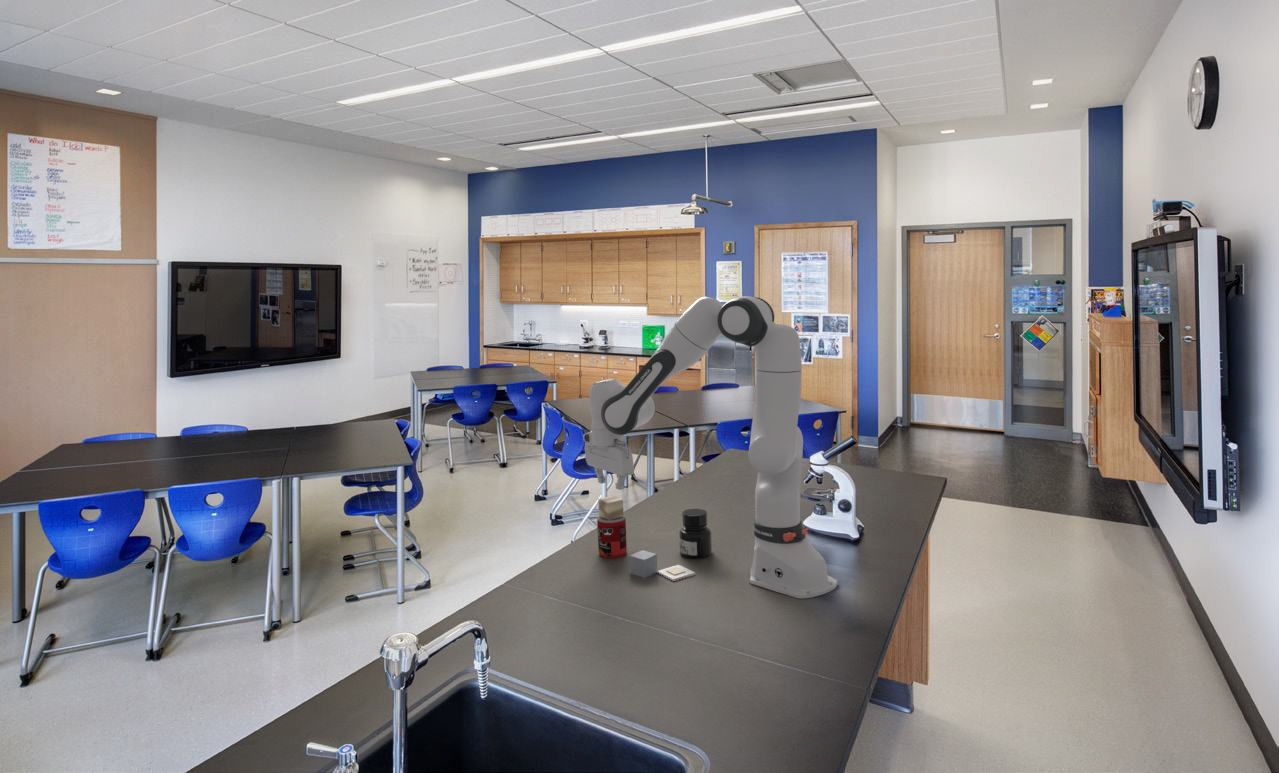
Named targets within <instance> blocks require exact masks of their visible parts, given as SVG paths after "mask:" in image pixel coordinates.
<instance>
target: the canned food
mask: <svg viewBox="0 0 1279 773" xmlns="http://www.w3.org/2000/svg"><path fill="white" fill-rule="evenodd" d="M596 522H597V523H596V524H597V525H596V526H597V540H598V541H597V542H598V543H597V546H598V547H597V548H598V554H599V556H600V557H601V556H602V557H601V558H604V557H605V559H617V558H618V557H619V558H621V557H624V556H625V555H626V554H627V550H628V548H627V547H628V546H627V545H628V544H627V523H626V522H627V521H626V514H624V517H620V518H616V519H612V520H606V519H604V518H602V517H600V516H599V515H597V518H596Z"/></svg>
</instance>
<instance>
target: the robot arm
mask: <svg viewBox="0 0 1279 773" xmlns="http://www.w3.org/2000/svg"><path fill="white" fill-rule="evenodd" d="M721 336H724V337H726V339H728V340H729V341H732V342H734V343H738V344H740V345H744V346H746V347H750V348H752V347H753V348H754V350H755V359H756V360H755V361H756V362H755V395H754V396H755V400H754V408H753V413H752V414H753V415H752V421H751V430H750V439H749V446H748V454H747V455H748V460H749V462H750V465H751V467H753V469H754V470H755V471H756V472H757V479H756V486H755V489H754V490H755V491H754V493H755V498H754V499H755V501H754V502H755V506H754V507H755V519H753V520H754V521H753V535H754V536H755V539H754V540H755V541H754V547H753V552H752V553H753V555H752V556H753V557H752V563H751V569H750V570H749V575H750V577H749V583H750V584H751V585H755V586H758V587H762V588H764V589H767V590H771V591H774V592H777V593H781V594H783V595H787V596H789V597H792V598H796V599H809V598H815V597H819V596H822V595H825V594H828V593H830V592H831V591H832V592H833V590H835V589H836V588H837V586H838V580H837V579H836V578H835V577H832V576H830V575H828V568H827V562H826V560H825V558H824V557H823V556H822V555H821V553H820V552H819V551H817V549H815V547H814V546H813V545H812V544H811V542H809V540H808V539H807V538H806V536H807V535H806V534H808V533H809V531H808V530H809V528H807V527H806V528H804V524H803V522H802V520H801V511H800V510H801V506H800V504H801V503H800V502H801V494H800V493H801V481H802V468H803V454H804V453H803V449H804V448H803V447H804V437H803V433H802V430H801V429H800V427H799V426H798V423H799V422H798V420H799V413H800V406H801V401H802V400H801V399H802V395H801V394H802V368H803V367H802V363H803V362H802V349H801V341H800V337H799V333H798V332H797V329H795V328H794V327H792V326H790V325H788V324H779V323H775V313H774V309H773V308H772V306H771V304H770V303H769V302H767V301H766V300H765V299H763V298H761V297H757V296H750V295H749V296H748V295H745V296H740V297H734V298H731V299H729V300H728V301H727V302H725V303H722V302H721V301H719V300H718V299H716V298H714V297H710V296H702V297H700V298H698V299H697V300H696V301H694V302H693V303H692V304H691V305H690V306H689V307H688V308H687V309H686V310H685V311H684V312H683V313H682V314H681V315H680V317H679V318H678V319H677V321H676V322H675V323H674V324H673V325H672V327H671V328H670V330H669V331H668V332H667V334H666V335H665V336H664V338H663V340H662V341H661V343H660V344H659V346H658V347H657V348H656V350H655V351H654V352H653V354H652V355H651V356H650V358H649V359H648V361H647V362H645V364H644V365H643V367H642V368H641V369H640V370H639V371H638V373H636V375H635V376H634V377H633V378H632V379H631V380H630V382H629V383H628V384H627V385H625V384H623V383H622V382H621V381H619V379H617V378H615V377H614V378H607V379H603V380H599V381H596V382H594V383H593V384H592V385H591V387H590V390H589V413H590V417H591V425H590V431H588V432H586V433H584V434H583V435H582V438H583V439H582V440H583V442H584V456H585V457H584V458H585V462H586V464H587V465H588V466H590V467H593V468H594V473H595V474H596V477H597V483H599V484H606V482H607V480H606V479H607V478H606V476H605V474H604V471H606V472H607V473H608V472H609V473H612V474H615V475H616V478H617V480H616V482H615V489H616V490H619V491H622V490H624V488H625V485H624V484H625V480H626V478H627V476H631V475H634V472H635V466H634V464H635V463H634V457H633V453H632V450H631V448H630V446H629V445H628V444H627V441H625V440H624V435H627V434H628V433H630V432H631V431H633V430H635V429H636V428H638V427H641V426H643V425H645V424H646V423H648V422H650V421H651V420H652V419H653V418H654V417H655V416H654V415H655V412H656V403H655V400H654V398H653V396H652V395H653V394H655V392H656V391H657V390H658V388H659V387H660V386H661V385H663V383H665V382H666V381H667V380H668V379H670V378H671V377H674V376H675V375H677V374H679V373H682V372H683V371H686V370H688V369H689V368H692V367H693V366H694V365H695V364H697V362H699V361H700V360H701V359H702V358H704V357H705V355H706V354H707V352H709V350H710V349H711V347H713V345H714V344H715V342H716V341H717V340H719V338H720V337H721Z"/></svg>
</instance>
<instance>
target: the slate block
mask: <svg viewBox="0 0 1279 773" xmlns="http://www.w3.org/2000/svg"><path fill="white" fill-rule="evenodd" d="M657 556H658V554H657V553H654V552H650V551H647V550H644V549H642V550H639V551H637V552H635V553H633V554H631V555H629V565H630V566H629V569H630V570H629V571H630V574H631V575H633V574H634V576H636V575H637V577H640V576H641V577H640V578H643V577H644V578H643V579H646V578H648V577H651V576H652V575H654V574H656V573H657V571H658V557H657ZM655 572H656V573H655ZM653 573H654V574H653ZM647 576H648V577H647ZM645 577H646V578H645Z"/></svg>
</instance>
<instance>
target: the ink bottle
mask: <svg viewBox="0 0 1279 773" xmlns="http://www.w3.org/2000/svg"><path fill="white" fill-rule="evenodd" d="M681 515H682V526H683V527H682V528H681V529H680V530H679V553H680V555H681V556H682V557H684V558H686V559H692V560H693V559H695V560H697V559H703V558H708V557H710V556H711V554H712V552H713V546H712V545H713V544H712V531H711V528H710V527H708V512H707V510H705V509H702V508H688V509H685V510H683V511H682V514H681Z"/></svg>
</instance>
